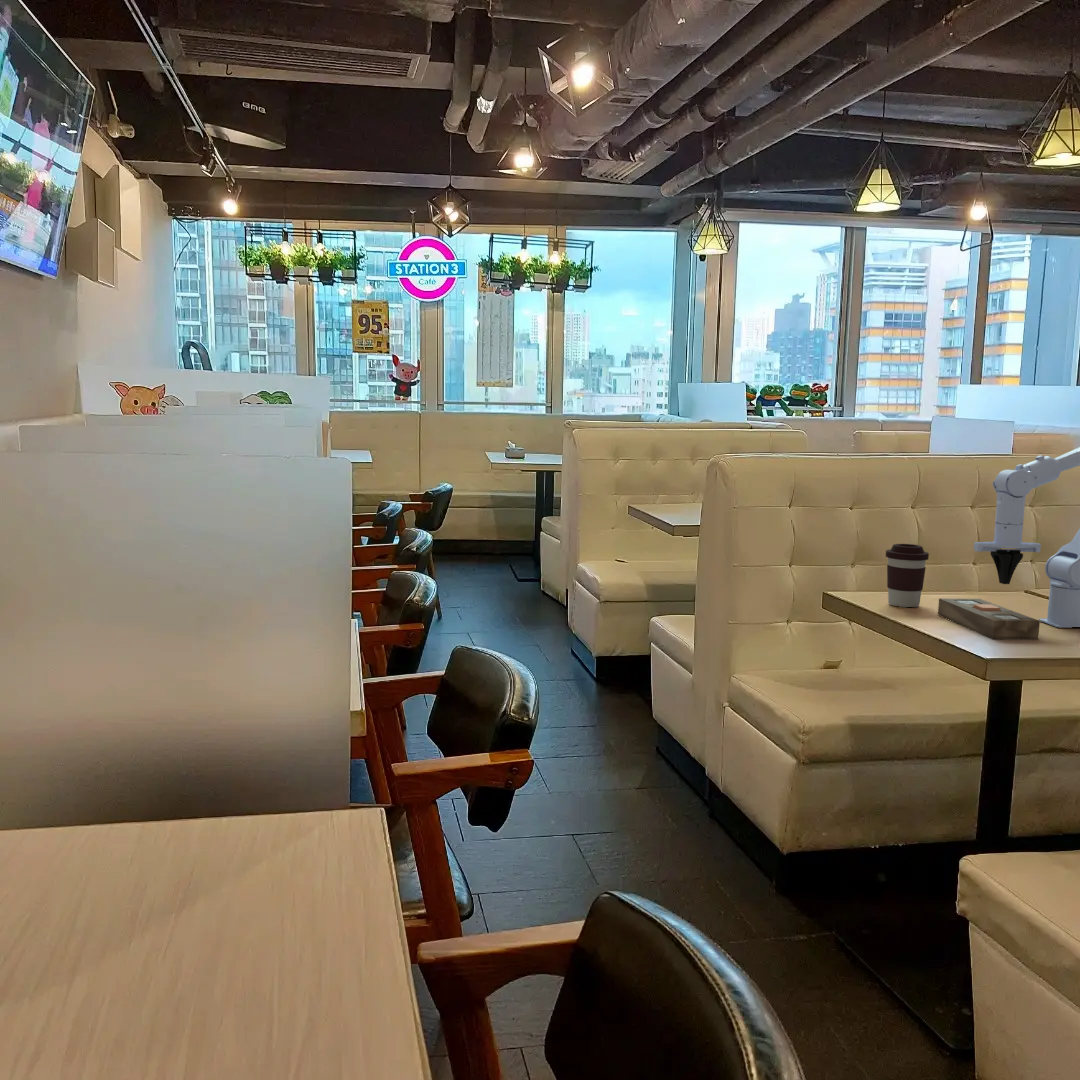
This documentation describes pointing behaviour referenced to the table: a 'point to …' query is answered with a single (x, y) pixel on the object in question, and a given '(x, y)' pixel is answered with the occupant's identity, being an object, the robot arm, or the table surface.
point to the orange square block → (986, 607)
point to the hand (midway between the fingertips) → (1004, 583)
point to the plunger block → (989, 620)
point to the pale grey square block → (1005, 617)
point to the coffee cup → (905, 574)
